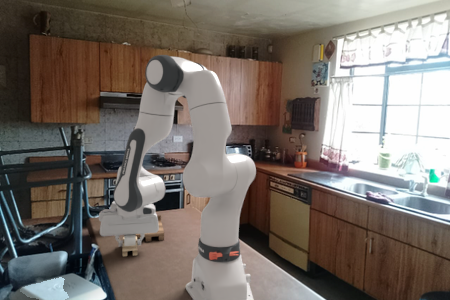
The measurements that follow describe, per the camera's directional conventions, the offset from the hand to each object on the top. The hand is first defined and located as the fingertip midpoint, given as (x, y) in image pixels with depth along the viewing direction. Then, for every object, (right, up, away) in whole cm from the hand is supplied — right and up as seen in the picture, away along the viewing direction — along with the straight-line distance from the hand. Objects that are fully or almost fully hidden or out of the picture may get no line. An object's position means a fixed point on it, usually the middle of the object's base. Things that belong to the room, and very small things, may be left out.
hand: (130, 245), depth 119 cm
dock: (+2, 0, +17) cm, 17 cm away
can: (-10, +1, +20) cm, 23 cm away
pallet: (0, -2, 0) cm, 2 cm away
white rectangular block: (0, +1, 0) cm, 1 cm away
